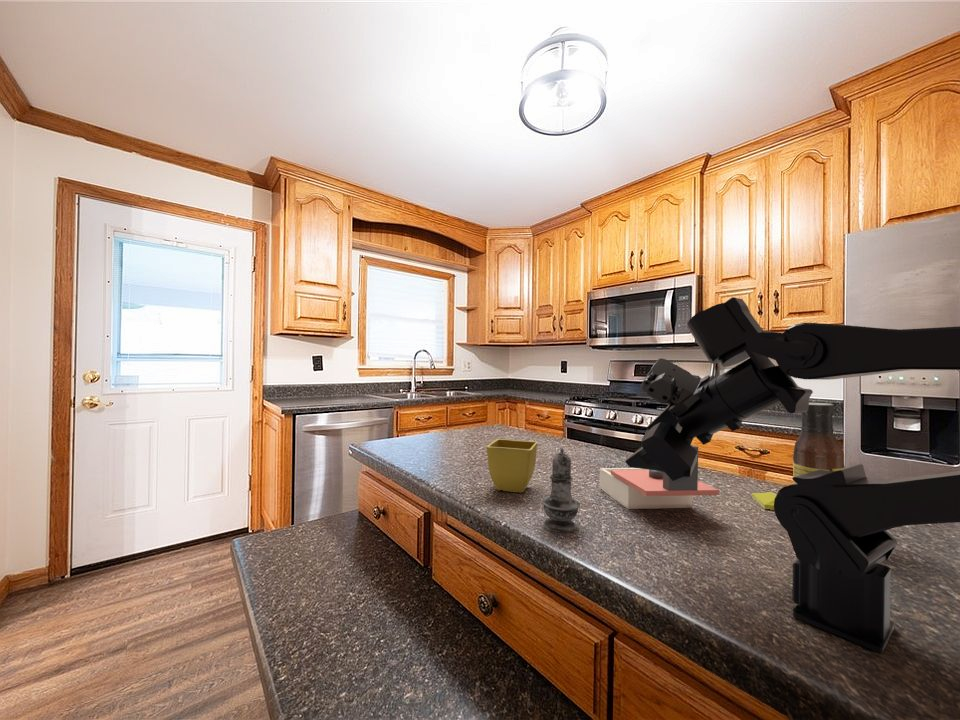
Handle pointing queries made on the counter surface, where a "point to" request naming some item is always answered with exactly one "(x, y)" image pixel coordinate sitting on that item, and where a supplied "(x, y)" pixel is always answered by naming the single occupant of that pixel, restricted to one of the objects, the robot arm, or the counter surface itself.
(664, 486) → the lid
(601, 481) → the white rectangular box
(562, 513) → the salt shaker
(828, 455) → the sauce bottle
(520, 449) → the flower pot
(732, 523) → the counter surface
